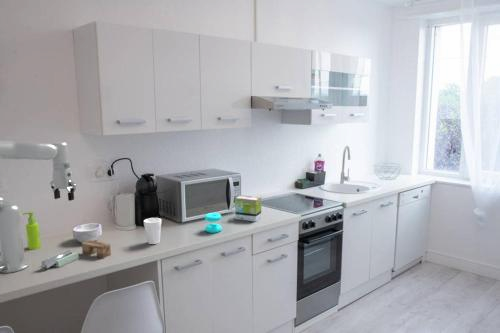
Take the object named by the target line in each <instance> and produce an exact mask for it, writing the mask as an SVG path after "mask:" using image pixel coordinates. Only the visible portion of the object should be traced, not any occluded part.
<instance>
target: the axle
mask: <svg viewBox="0 0 500 333" xmlns="http://www.w3.org/2000/svg"><path fill="white" fill-rule="evenodd" d="M64 251H65V252H64ZM64 251H62V253H61V252H59V253H60V254H59V253H57V254H58V255H57V254H54V255H55V256H54V255H52V256H53V257H52V256H50V257H51V258H50V257H48V259H47V258H46V259H44V260H42V262H41V265H42V267H43V268H44V269H49V268H51V267H54V266H53V265H55V264H56V261H57V260H59V259H61V258H64V257H66V256H68V255H70V254H73V253H72V251H71V250H69V249H67V251H66V250H64Z"/></svg>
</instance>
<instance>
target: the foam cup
mask: <svg viewBox="0 0 500 333" xmlns="http://www.w3.org/2000/svg"><path fill="white" fill-rule="evenodd" d="M162 222H163V221H162V218H159V217H150V218H146V219H144V220H143V226H144V231H145V235H146V241H147V244H148V243H149V244H156V243H159V242H160V241H161V232H162V231H161V230H162ZM160 243H161V242H160ZM160 243H159V244H160ZM149 244H148V245H149ZM156 245H157V244H156Z"/></svg>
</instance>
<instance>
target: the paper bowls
mask: <svg viewBox="0 0 500 333" xmlns="http://www.w3.org/2000/svg"><path fill="white" fill-rule="evenodd" d="M102 234H103V229H102V224H100V223H85V224H81V225H78V226H75V227H73V228H72V237H73V239H74V240H77V241H78V242H79V243H80V244H82V243H84V242H86V241H89V240H91V241H97V240H98V239H99V237H100V236H101V235H102Z"/></svg>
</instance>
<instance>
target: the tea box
mask: <svg viewBox="0 0 500 333" xmlns="http://www.w3.org/2000/svg"><path fill="white" fill-rule="evenodd" d="M234 207H235V208H234V211H235V213H234V214H235V216H234V217H235V220H240V221H248V222H249V221H250V222H255V223H256V222H258V221H259V220H260V219H261V218H262V197H261V196H255V195H246V194H245V195H244V194H240V195H239V196H237V197H235V198H234Z"/></svg>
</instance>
